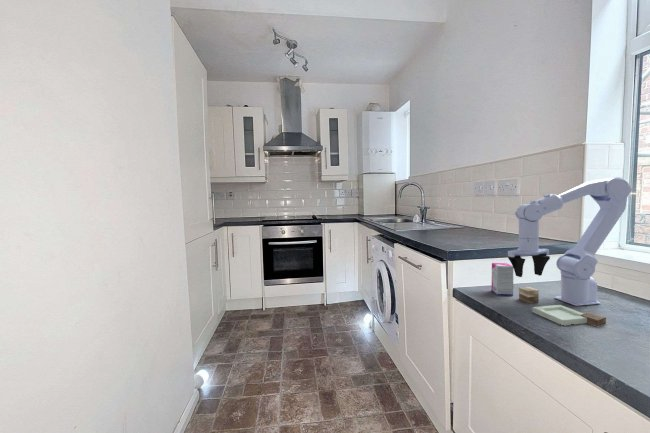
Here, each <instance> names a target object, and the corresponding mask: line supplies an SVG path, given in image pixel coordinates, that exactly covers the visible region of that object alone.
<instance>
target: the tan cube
mask: <svg viewBox="0 0 650 433" xmlns="http://www.w3.org/2000/svg"><path fill="white" fill-rule="evenodd" d="M539 292H540V291H539V289H536V288H533V287H530V286H522V287H521V286H520V287H518V299H519V300H520V301H522V302H525V303H527V304H535V303H539V299H540V297H539V295H540V294H539Z"/></svg>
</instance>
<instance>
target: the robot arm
mask: <svg viewBox="0 0 650 433" xmlns="http://www.w3.org/2000/svg"><path fill="white" fill-rule="evenodd" d="M632 191H633V188H632V187H631V184H630V182H629V181H628V180H627V179H626V178H624V177H621V176H620V177H619V176H618V177H617V176H616V177H613V178H602V179H600V178H596V179H593V180H590V181H586V182H584V183H581V184H579V185H577V186H575V187H573V188H571V189H569V190H566V191H564V192H562V193H559V194H558V195H557V194H556V193H555V194H554V193H546V194H544V195H543V197H541V198H538V199H536V200H535V199H534V200H531V201H530V202H529V204H526V203H524V204H521V205H519V206H518V208H516V211H515V212H514V213H515V217H516V218H517V219H518V248H516V249H513V250H508V251H507V259H508V260H509V262H510V265H511V266H513V272H514V274H515V276H516V277H518V278H523V273H524V272H523V270H524V265H525V262H526V258H522V257H528V256H529V257H531V259H532V262H533V271H534V275H537V276H542V275H543V272H544V268H545V266H546V265H547V263H548V262H549V261H550V260H551V255H550V249H548V248H540V247H539V246H540V244H539V241H540V238H539V237H540V233H539V232H540V231H539V229H540V228H539V226H540V224H539V221H540V220H541V219H542V217H543V216H546V215H549V214H551V213H553V212H556V211H559V210H561V209H562V208H563V206H564V204H566V203H569V202H572V201H575V200H578V199H580V198H582V197H586V196H589V197H591V199H592V200H593V201H595V203H596V204H597V205H598V206H599V208H600V209H599V210H598V212H596V215H595V216H594V218H593V219H592V221H591V222H590V224H589V225H588V226H587V227H586V230H585V231H584V232H583V234H582V236H581V237H580V239H579V240H578V241H577V243H576V245H575V246H574V247H572V248H570V249H568V250H566V251H565V252H564V254H563V255H560V256H559V257H558V258H557V260H556V262H555V263H556V268H557V269H558V270H559V271H560V296H558V295H557V296H554V299H556V300H559V301H561V302H565V303H567V304H569V305H573V306H576V307H579V306H588V305H589V306H590V305H600V304H601V302H600V301H599V300H598V283H597V281H596V279H595V278H593V277H592V276H594V274H595V271H596V265H597V264H598V263H599V261H598V258H597V257H596V256H595V255H596V253H597V252H598V250H599V249H600V248H601V246H602V244H603V243H604V242H605V240H606V239H607V237H608V236H609V234H610V232H611V231H612V230H613V228H614V227H615V226H616V224H617V223H618V221H619V220H620V218H621V217H622V215H623V214H624V212H625V211H626V207H627V200H628V197H629V195H630V194H631V192H632Z"/></svg>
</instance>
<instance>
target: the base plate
mask: <svg viewBox="0 0 650 433" xmlns="http://www.w3.org/2000/svg"><path fill="white" fill-rule="evenodd" d="M532 313H534V314H535V315H537V316H541V317H543V318H545V319H547V320H550V321H552V322H554V323H556V324H558V325H560V324H561V325H560V326H562V325H564V326H572V325H571V324H574V325H580V324H588V323H587V318H586V317H583V316H581V314H584V312H581V311H578V310H576V309H573V308H570V307H567V306H564V305H562V304H552V305H541V306H533V307H532Z"/></svg>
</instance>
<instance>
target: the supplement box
mask: <svg viewBox="0 0 650 433" xmlns="http://www.w3.org/2000/svg"><path fill="white" fill-rule="evenodd" d="M491 292H492V293H494V294H495V295H496V296H508V297H509V296H510V297H511V296H512V297H513V296H514V268H513V266H512V264H509V263H507V262H492V263H491Z"/></svg>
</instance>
